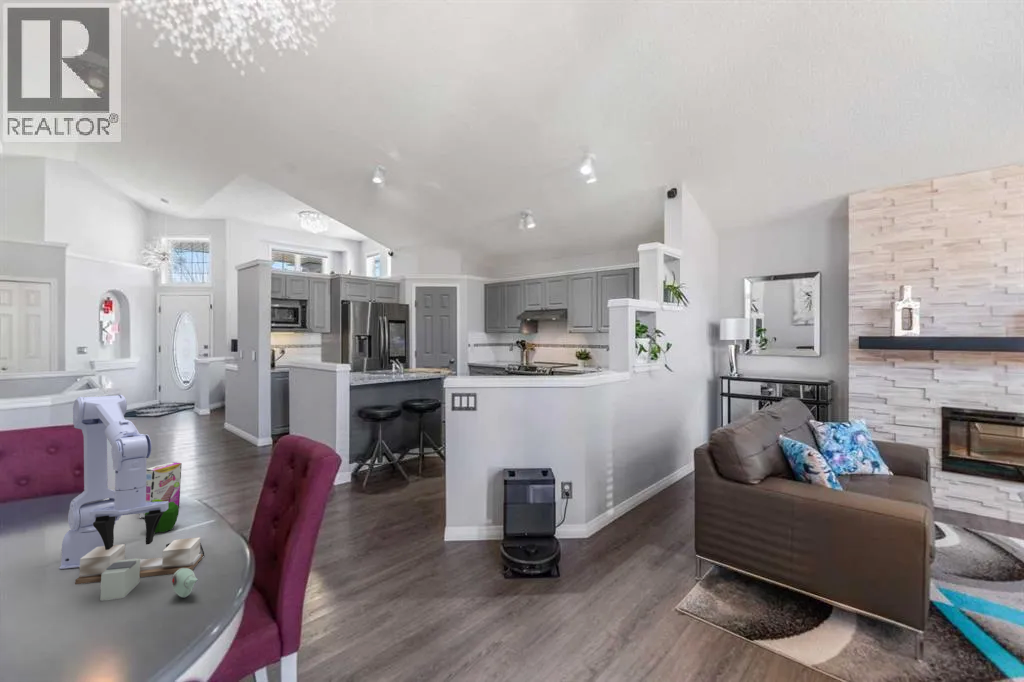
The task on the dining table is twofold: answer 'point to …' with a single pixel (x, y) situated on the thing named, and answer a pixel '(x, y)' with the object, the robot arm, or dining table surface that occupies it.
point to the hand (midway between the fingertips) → (129, 545)
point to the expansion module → (120, 579)
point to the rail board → (173, 559)
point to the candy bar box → (163, 483)
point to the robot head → (183, 581)
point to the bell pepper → (167, 517)
